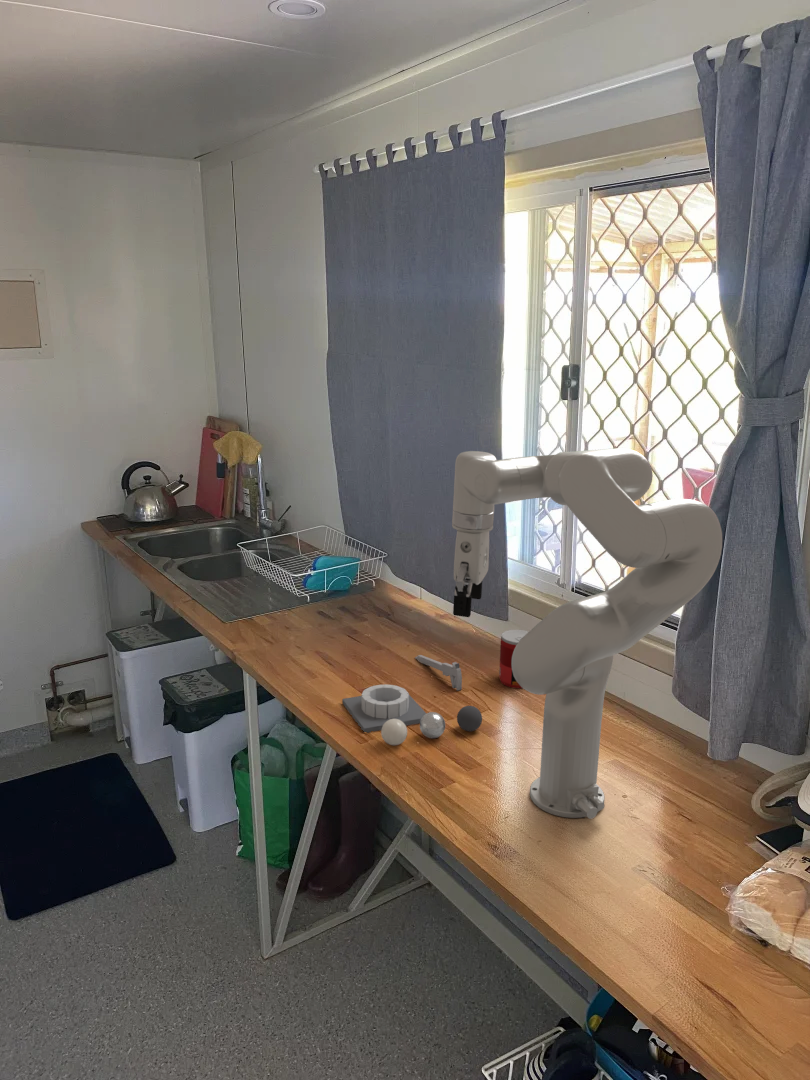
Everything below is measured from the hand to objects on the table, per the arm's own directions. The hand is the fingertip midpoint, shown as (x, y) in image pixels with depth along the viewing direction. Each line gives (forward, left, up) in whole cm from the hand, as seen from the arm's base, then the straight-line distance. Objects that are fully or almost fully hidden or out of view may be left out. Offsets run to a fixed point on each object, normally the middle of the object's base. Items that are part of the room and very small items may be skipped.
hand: (467, 606), depth 161 cm
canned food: (+18, -22, -27) cm, 39 cm away
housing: (+14, +11, -27) cm, 32 cm away
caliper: (+28, -7, -27) cm, 40 cm away
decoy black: (+1, -2, -24) cm, 24 cm away
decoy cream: (+1, +14, -24) cm, 28 cm away
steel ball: (+1, +6, -24) cm, 25 cm away
